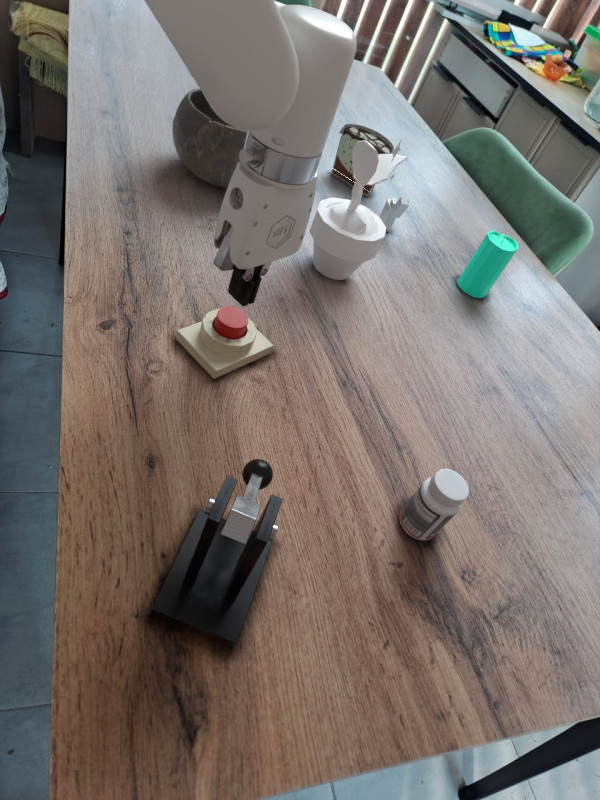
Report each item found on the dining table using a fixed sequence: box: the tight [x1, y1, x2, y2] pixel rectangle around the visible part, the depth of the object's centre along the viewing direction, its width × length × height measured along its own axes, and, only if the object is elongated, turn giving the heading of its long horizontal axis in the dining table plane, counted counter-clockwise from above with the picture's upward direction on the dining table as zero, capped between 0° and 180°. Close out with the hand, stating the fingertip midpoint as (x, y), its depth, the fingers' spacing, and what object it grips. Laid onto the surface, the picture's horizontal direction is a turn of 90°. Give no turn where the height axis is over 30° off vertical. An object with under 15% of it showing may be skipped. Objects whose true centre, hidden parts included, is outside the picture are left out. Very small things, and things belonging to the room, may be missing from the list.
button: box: [214, 305, 249, 339], centre depth 72 cm, size 4×4×2 cm
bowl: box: [172, 88, 247, 189], centre depth 99 cm, size 18×18×13 cm
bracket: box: [150, 475, 284, 649], centre depth 49 cm, size 11×8×13 cm
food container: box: [331, 123, 395, 197], centre depth 117 cm, size 12×6×10 cm, turn 56°
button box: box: [175, 307, 274, 380], centre depth 74 cm, size 10×8×4 cm
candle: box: [456, 229, 519, 299], centre depth 102 cm, size 6×6×12 cm
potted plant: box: [308, 139, 408, 281], centre depth 87 cm, size 13×12×25 cm
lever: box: [221, 458, 274, 544], centre depth 51 cm, size 13×3×3 cm
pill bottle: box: [398, 468, 470, 541], centre depth 63 cm, size 5×5×8 cm
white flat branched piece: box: [378, 197, 410, 233], centre depth 107 cm, size 7×2×8 cm, turn 3°
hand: (240, 297), depth 69 cm, fingers closed
